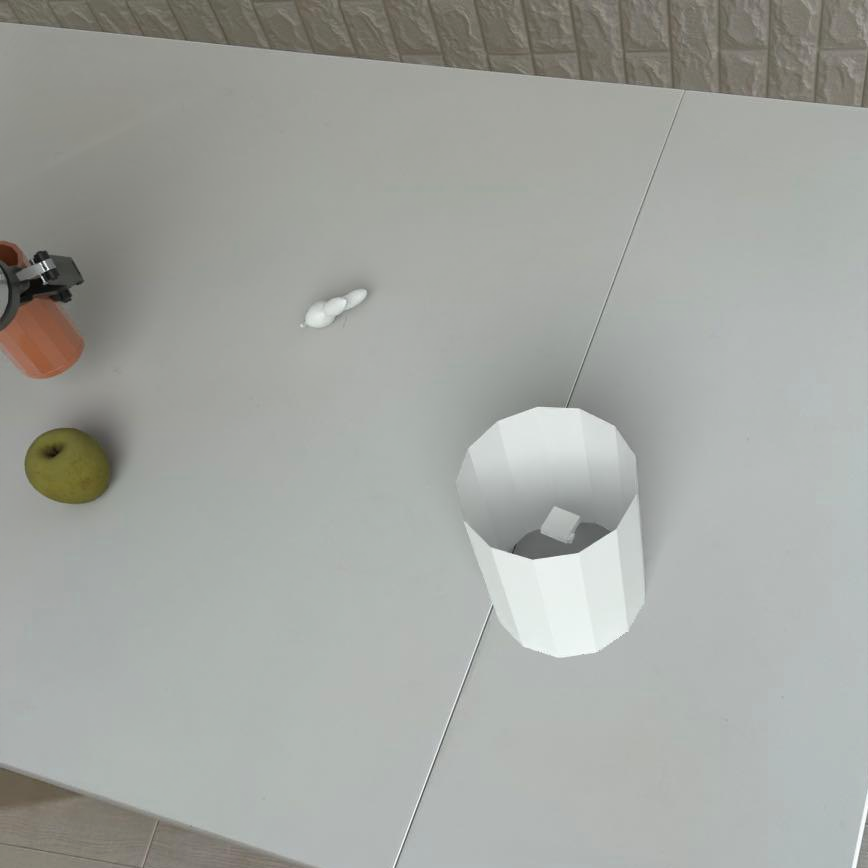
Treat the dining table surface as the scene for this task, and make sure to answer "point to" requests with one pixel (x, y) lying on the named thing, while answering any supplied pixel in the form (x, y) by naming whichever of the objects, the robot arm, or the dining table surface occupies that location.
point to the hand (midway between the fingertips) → (24, 306)
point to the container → (556, 527)
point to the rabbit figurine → (332, 309)
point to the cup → (39, 330)
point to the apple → (67, 466)
